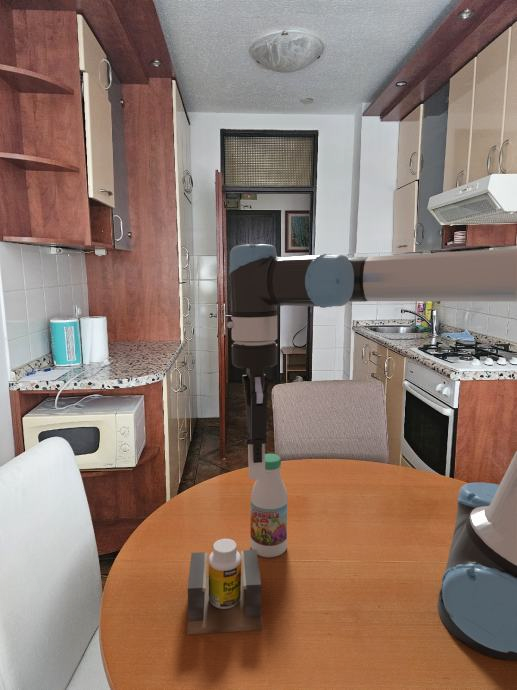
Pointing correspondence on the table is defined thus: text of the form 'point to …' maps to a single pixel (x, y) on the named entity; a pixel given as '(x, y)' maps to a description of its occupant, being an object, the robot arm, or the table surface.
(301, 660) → the table surface
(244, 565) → the clamp block
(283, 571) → the table surface
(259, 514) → the milk bottle
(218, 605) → the supplement bottle
